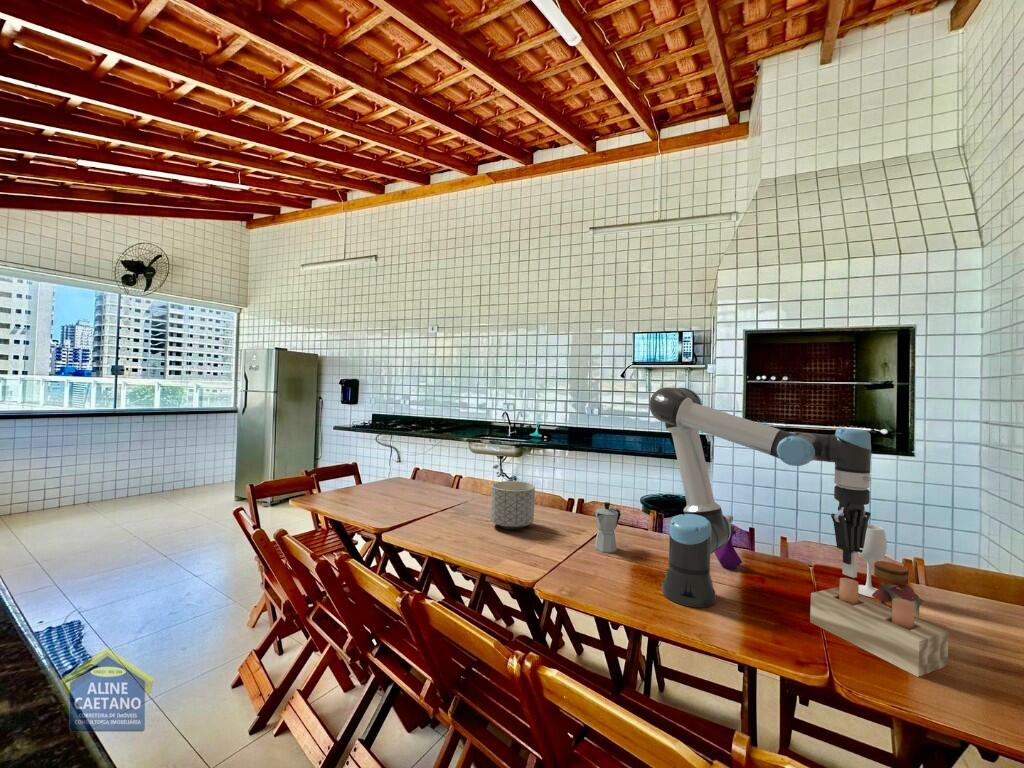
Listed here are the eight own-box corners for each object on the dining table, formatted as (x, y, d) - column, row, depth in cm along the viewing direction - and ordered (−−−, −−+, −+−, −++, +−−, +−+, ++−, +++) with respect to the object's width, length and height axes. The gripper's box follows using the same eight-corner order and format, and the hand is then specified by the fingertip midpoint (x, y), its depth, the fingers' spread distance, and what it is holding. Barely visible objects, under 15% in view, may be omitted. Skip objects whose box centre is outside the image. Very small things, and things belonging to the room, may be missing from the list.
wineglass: (878, 601, 134) (880, 532, 134) (845, 589, 142) (847, 524, 142) (891, 595, 138) (893, 528, 138) (859, 584, 146) (861, 521, 146)
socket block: (918, 677, 98) (919, 641, 98) (810, 622, 120) (810, 593, 120) (947, 665, 103) (948, 631, 103) (838, 614, 125) (839, 586, 125)
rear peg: (851, 612, 114) (852, 585, 114) (835, 604, 118) (836, 578, 118) (861, 609, 116) (862, 583, 116) (845, 602, 120) (845, 576, 120)
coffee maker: (604, 556, 163) (606, 507, 163) (586, 549, 170) (587, 502, 170) (628, 547, 173) (629, 501, 173) (609, 541, 179) (610, 497, 179)
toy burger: (908, 636, 115) (909, 579, 115) (854, 612, 126) (856, 560, 126) (932, 627, 119) (933, 572, 119) (878, 605, 131) (879, 555, 131)
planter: (507, 517, 207) (508, 479, 207) (541, 526, 196) (542, 485, 196) (481, 527, 192) (483, 485, 192) (517, 537, 180) (518, 493, 180)
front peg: (907, 637, 103) (908, 607, 103) (887, 628, 107) (888, 599, 107) (917, 634, 105) (918, 604, 105) (897, 625, 108) (898, 597, 108)
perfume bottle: (742, 571, 153) (743, 519, 153) (719, 569, 154) (720, 518, 154) (735, 563, 160) (737, 513, 160) (713, 560, 162) (715, 512, 162)
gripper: (851, 491, 111) (849, 584, 111) (882, 488, 116) (880, 577, 116) (821, 485, 118) (819, 572, 118) (851, 482, 123) (849, 566, 123)
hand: (849, 575), depth 117 cm, fingers closed
